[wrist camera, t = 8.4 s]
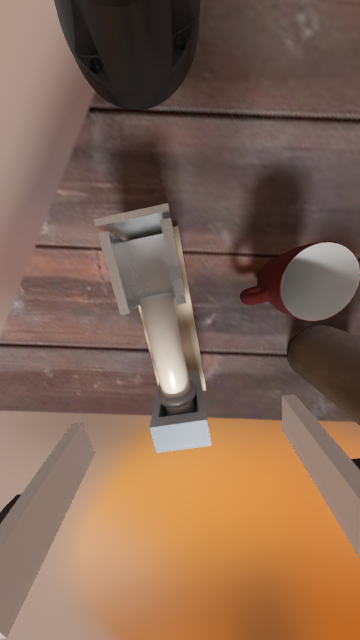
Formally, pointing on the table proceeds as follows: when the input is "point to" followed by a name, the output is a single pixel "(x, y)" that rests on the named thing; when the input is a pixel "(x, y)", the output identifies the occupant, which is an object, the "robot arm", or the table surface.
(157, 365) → the slip tube
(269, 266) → the mug
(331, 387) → the pillar candle
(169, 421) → the socket block
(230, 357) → the table surface
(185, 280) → the base board
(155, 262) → the grey u-shaped bracket
